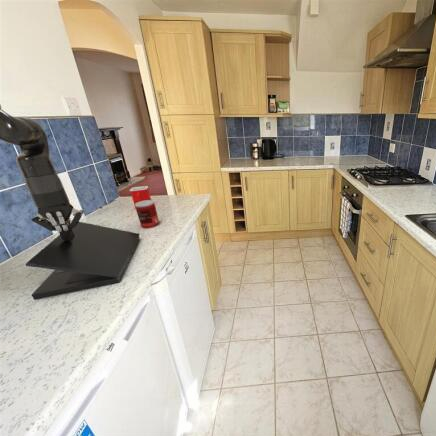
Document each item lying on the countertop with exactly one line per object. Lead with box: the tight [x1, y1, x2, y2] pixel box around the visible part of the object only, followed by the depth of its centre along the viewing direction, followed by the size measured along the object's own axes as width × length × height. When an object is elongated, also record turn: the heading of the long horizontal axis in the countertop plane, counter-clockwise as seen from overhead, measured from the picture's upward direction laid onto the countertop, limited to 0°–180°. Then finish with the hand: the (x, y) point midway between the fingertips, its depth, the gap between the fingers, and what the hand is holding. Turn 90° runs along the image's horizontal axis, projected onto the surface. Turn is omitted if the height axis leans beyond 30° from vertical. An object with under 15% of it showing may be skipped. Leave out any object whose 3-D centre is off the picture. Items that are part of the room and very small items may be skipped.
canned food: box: [134, 199, 160, 229], centre depth 112 cm, size 8×8×11 cm
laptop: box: [31, 236, 141, 301], centre depth 84 cm, size 21×30×2 cm
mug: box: [129, 185, 152, 210], centre depth 134 cm, size 12×8×11 cm
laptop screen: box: [25, 221, 140, 278], centre depth 82 cm, size 21×30×1 cm
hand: (69, 240), depth 79 cm, fingers closed
